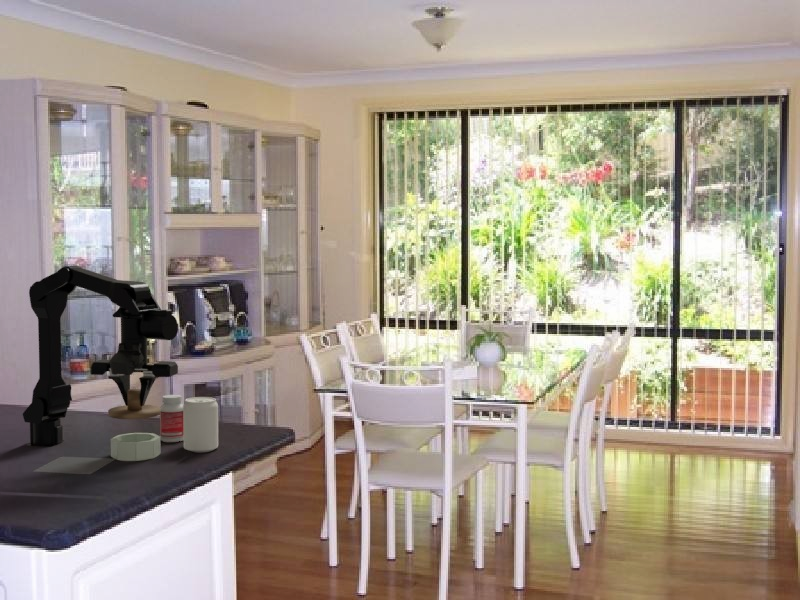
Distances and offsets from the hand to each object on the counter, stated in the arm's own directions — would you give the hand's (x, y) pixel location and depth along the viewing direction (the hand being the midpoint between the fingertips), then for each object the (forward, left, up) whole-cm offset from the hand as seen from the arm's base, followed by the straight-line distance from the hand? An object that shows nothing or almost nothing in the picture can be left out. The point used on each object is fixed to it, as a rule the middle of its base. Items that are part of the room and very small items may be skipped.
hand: (134, 405), depth 213 cm
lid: (0, 0, -2) cm, 2 cm away
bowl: (0, 0, -12) cm, 12 cm away
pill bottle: (+2, +18, -12) cm, 22 cm away
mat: (-9, -11, -12) cm, 19 cm away
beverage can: (+12, +10, -12) cm, 20 cm away
